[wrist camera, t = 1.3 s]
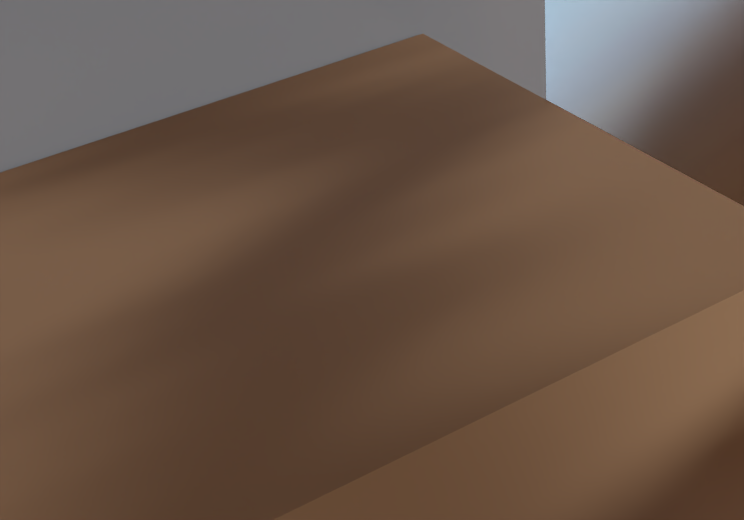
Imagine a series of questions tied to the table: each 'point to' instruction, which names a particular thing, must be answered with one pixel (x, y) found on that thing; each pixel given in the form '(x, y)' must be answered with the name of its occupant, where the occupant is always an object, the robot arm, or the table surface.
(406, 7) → the tile
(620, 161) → the walnut block
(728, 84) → the table surface
